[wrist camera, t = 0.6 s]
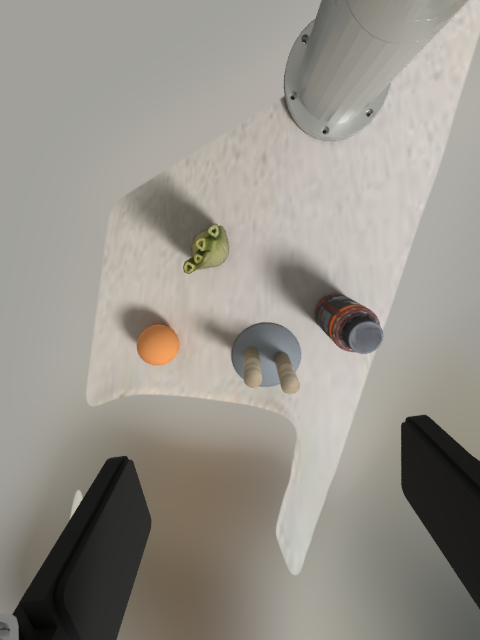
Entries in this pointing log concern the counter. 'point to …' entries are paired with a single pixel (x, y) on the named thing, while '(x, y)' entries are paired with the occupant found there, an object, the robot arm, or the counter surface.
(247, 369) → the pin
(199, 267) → the fennel bulb
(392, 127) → the counter surface
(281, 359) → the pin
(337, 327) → the supplement bottle
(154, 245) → the counter surface
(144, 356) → the ball
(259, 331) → the light blue plate
